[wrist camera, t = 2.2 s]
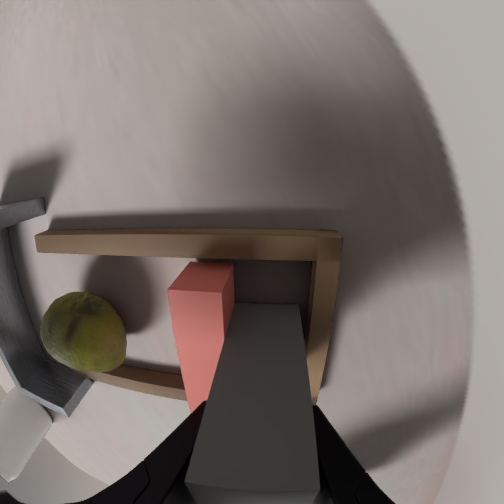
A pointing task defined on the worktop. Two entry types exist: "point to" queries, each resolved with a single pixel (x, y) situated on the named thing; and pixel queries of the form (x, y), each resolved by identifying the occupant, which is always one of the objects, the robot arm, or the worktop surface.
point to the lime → (84, 333)
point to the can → (20, 431)
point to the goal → (30, 330)
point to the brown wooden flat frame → (217, 247)
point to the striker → (244, 392)
